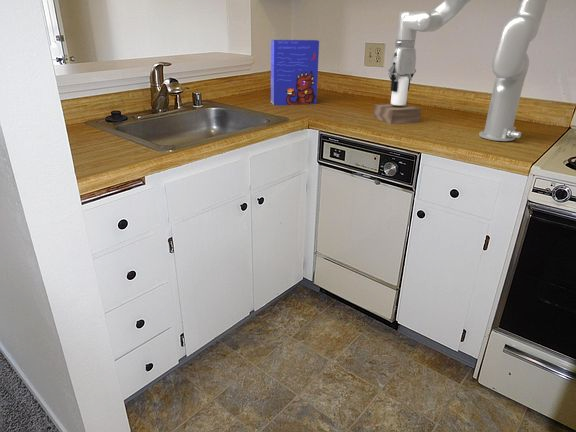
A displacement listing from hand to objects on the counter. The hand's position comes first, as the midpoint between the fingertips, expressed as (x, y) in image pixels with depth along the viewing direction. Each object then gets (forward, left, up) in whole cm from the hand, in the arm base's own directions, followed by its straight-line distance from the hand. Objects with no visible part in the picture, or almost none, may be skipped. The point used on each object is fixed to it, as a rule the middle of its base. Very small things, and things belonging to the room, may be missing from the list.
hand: (399, 90), depth 183 cm
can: (0, 0, -6) cm, 6 cm away
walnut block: (0, 0, -13) cm, 13 cm away
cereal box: (+50, +20, -13) cm, 55 cm away
